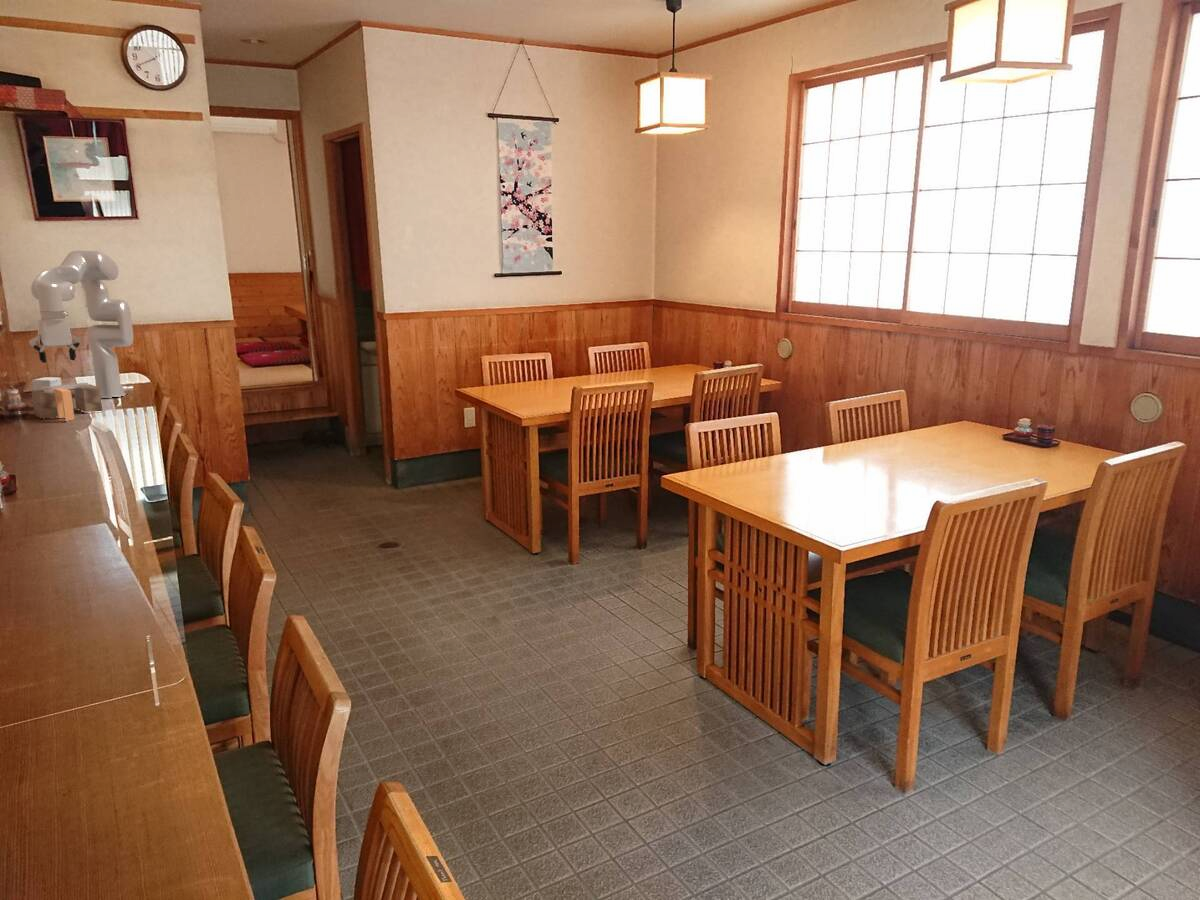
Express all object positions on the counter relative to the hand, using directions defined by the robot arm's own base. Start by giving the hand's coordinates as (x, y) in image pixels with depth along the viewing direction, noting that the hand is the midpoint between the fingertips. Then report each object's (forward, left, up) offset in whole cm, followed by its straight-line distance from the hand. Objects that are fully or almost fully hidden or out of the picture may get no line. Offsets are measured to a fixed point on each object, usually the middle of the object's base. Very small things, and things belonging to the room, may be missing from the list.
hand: (58, 361), depth 317 cm
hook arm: (-5, -12, -13) cm, 19 cm away
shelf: (-5, -12, -23) cm, 27 cm away
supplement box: (-3, -26, -23) cm, 35 cm away
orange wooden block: (0, 0, -23) cm, 23 cm away
